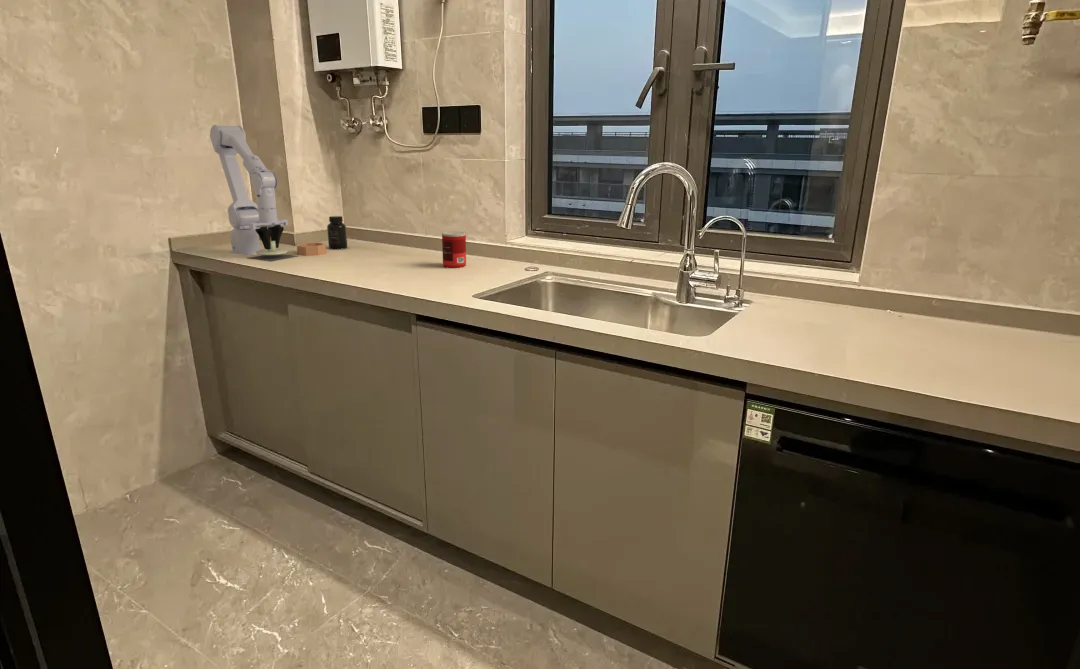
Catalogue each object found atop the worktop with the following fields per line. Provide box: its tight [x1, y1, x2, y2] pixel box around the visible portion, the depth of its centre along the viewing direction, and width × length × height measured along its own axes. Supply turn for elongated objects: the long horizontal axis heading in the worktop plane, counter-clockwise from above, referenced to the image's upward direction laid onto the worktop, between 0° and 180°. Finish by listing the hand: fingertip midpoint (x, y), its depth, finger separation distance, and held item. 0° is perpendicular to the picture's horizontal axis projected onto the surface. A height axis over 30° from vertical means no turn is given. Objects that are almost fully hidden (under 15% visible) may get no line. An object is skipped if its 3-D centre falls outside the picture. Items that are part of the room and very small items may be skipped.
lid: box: [256, 240, 288, 256], centre depth 213 cm, size 10×10×4 cm
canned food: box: [441, 231, 467, 269], centre depth 205 cm, size 8×8×11 cm
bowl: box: [296, 241, 327, 257], centre depth 223 cm, size 10×10×4 cm
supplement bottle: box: [326, 215, 348, 250], centre depth 235 cm, size 7×7×12 cm
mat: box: [246, 253, 300, 262], centre depth 214 cm, size 12×12×1 cm
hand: (271, 248), depth 214 cm, fingers closed on lid, 3 cm apart
